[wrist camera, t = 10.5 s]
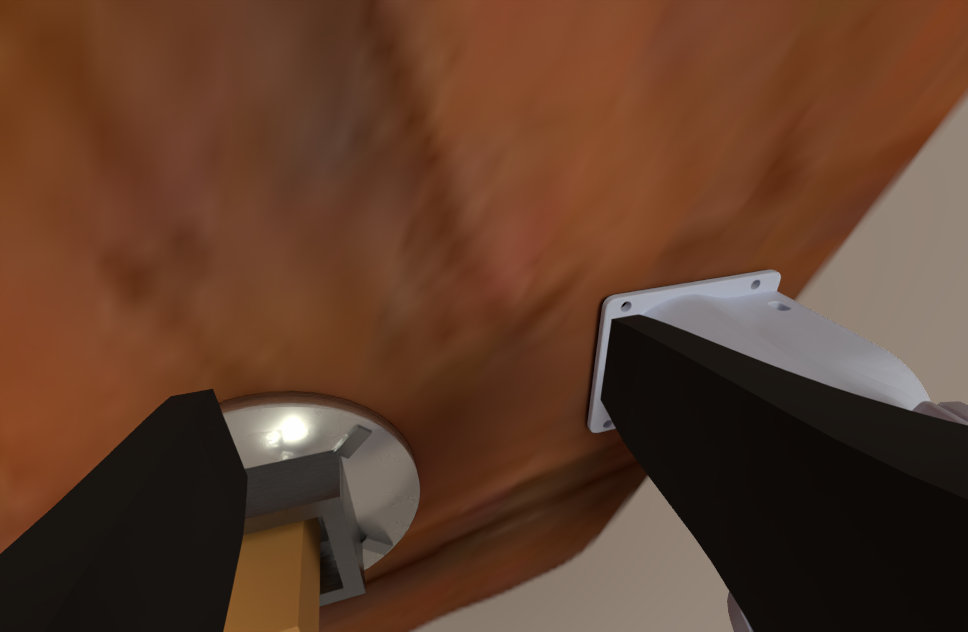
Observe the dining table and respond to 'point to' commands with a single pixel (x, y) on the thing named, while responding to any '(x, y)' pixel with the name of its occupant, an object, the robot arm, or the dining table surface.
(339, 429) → the square-hole metal disc
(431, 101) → the dining table surface
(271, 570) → the orange square peg
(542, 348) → the dining table surface
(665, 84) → the dining table surface
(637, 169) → the dining table surface
